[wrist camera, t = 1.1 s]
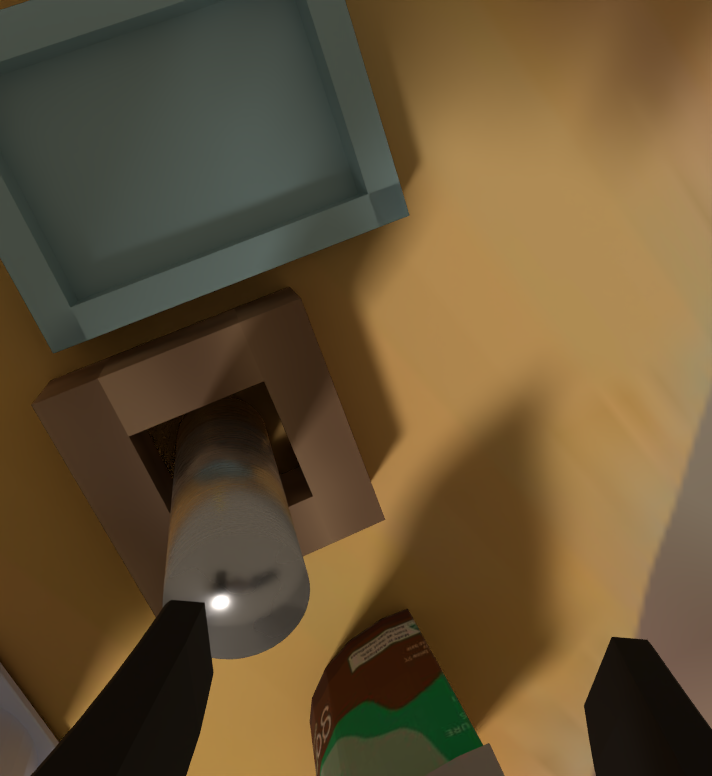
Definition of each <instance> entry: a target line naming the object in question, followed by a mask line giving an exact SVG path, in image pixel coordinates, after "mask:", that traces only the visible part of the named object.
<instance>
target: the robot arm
mask: <svg viewBox="0 0 712 776" xmlns="http://www.w3.org/2000/svg"><path fill="white" fill-rule="evenodd" d="M212 677H213V665H212V657H211V649H210V641H209V633H208V625H207V617H206V609H205V603H204V602H193V601H181V600H170V601H169V602H167V603H166V604H165V605H164V607H163V608H162V610H161V611H160V613H159V614H158V616H157V617H156V619H155V620H154V621H153V623H152V624H151V626H150V627H149V629H148V630H147V631H146V633H145V634H144V636H143V637H142V639H141V640H140V641H139V643H138V644H137V645H136V647H135V648H134V650H133V651H132V652H131V654H130V655H129V656H128V658H127V659H126V660H125V662H124V663H123V664H122V666H121V667H120V668H119V670H118V671H117V672H116V674H115V675H114V676H113V677H112V679H111V680H110V681H109V682H108V684H107V685H106V686H105V688H104V689H103V690H102V691H101V693H100V694H99V695H98V696H97V698H96V699H95V700H94V701H93V703H92V704H91V705H90V706H89V708H88V709H87V710H86V711H85V713H84V714H83V715H82V716H81V718H80V719H79V720H78V721H77V722H76V724H75V725H74V726H73V727H72V728H71V729H70V731H69V732H68V733H67V734H66V735H65V736H64V738H63V739H62V740H61V741H60V742H58V740H57V739H56V738H55V736H54V735H53V734H52V732H51V731H50V729H49V728H48V727H47V725H46V724H45V723H44V721H43V720H42V719H41V717H40V716H39V714H38V713H37V712H36V710H35V709H34V708H33V706H32V705H31V704H30V702H29V701H28V699H27V698H26V697H25V695H24V694H23V693H22V691H21V690H20V689H19V687H18V686H17V684H16V683H15V682H14V680H13V679H12V678H11V676H10V675H9V674H8V672H7V671H6V669H5V668H4V667H3V665H2V664H1V663H0V776H186V774H187V771H188V768H189V765H190V762H191V759H192V756H193V753H194V750H195V747H196V744H197V741H198V738H199V735H200V731H201V726H202V722H203V718H204V714H205V709H206V705H207V700H208V696H209V691H210V686H211V682H212ZM584 708H585V715H586V721H587V728H588V734H589V741H590V746H591V752H592V758H593V763H594V769H595V773H596V776H712V729H711V728H710V726H709V725H708V723H707V722H706V721H705V720H704V718H703V717H702V715H701V714H700V712H699V711H698V710H697V708H696V707H695V705H694V704H693V703H692V701H691V700H690V699H689V697H688V696H687V694H686V693H685V692H684V690H683V689H682V687H681V686H680V685H679V683H678V682H677V680H676V679H675V677H674V676H673V675H672V673H671V672H670V670H669V669H668V668H667V666H666V665H665V663H664V662H663V660H662V659H661V658H660V656H659V655H658V653H657V652H656V651H655V649H654V648H653V646H652V645H651V644H650V643H649V642H648V640H643V639H631V638H619V637H612V638H611V640H610V643H609V645H608V648H607V650H606V653H605V655H604V658H603V660H602V662H601V665H600V667H599V670H598V672H597V675H596V677H595V680H594V682H593V685H592V687H591V690H590V692H589V695H588V697H587V699H586V702H585V704H584Z"/></svg>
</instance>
